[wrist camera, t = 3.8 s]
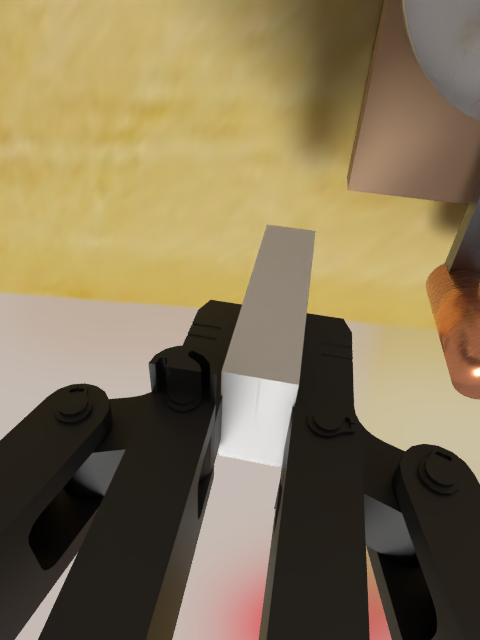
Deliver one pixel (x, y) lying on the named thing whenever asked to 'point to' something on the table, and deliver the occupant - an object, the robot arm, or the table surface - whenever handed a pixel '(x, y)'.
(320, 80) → the table surface
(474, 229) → the handwheel
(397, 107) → the mount board
